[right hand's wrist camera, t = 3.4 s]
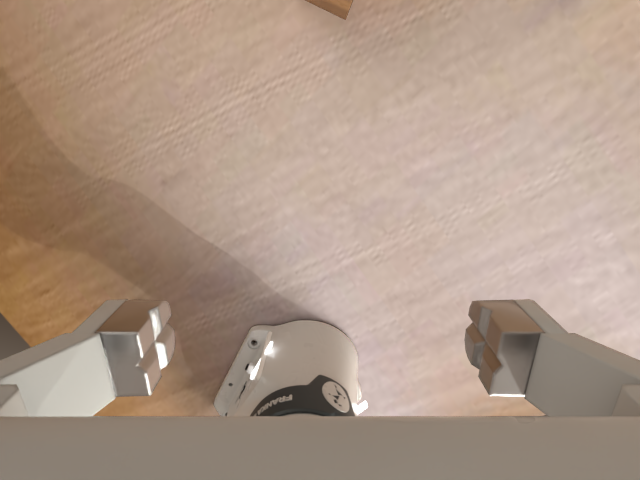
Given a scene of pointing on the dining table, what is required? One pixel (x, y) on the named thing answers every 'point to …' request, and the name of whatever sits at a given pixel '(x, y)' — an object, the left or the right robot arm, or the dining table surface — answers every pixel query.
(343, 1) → the box
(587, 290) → the dining table surface
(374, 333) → the dining table surface
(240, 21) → the dining table surface
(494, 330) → the right robot arm
